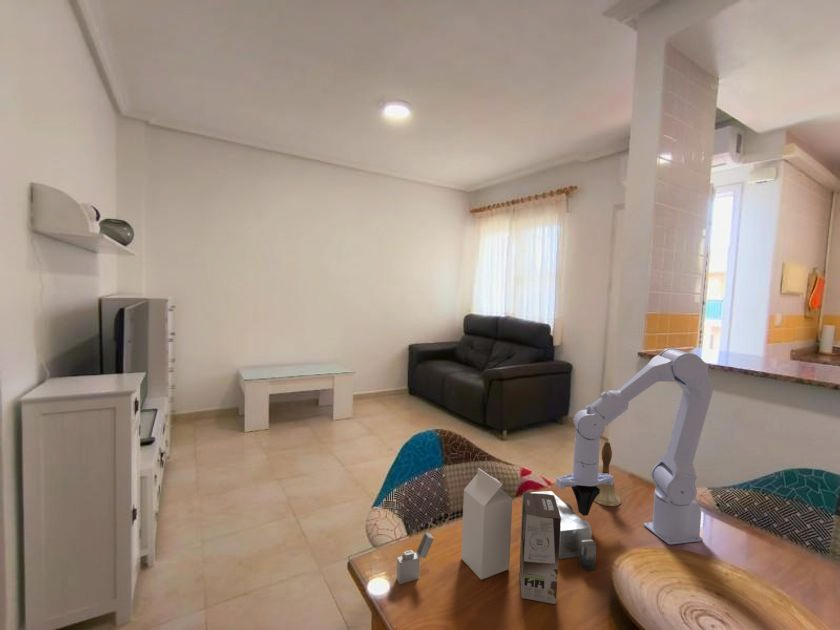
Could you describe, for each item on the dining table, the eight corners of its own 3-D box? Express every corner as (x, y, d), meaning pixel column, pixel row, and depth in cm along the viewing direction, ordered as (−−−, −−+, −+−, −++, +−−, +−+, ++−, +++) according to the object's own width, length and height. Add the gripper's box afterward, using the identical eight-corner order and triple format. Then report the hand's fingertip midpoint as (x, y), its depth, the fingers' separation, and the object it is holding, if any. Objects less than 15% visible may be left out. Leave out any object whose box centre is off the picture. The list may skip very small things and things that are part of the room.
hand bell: (581, 492, 114) (585, 438, 113) (606, 490, 116) (610, 436, 115) (601, 508, 106) (605, 449, 105) (628, 505, 108) (631, 447, 107)
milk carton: (481, 581, 77) (484, 486, 76) (460, 558, 84) (464, 471, 83) (509, 570, 81) (513, 479, 80) (488, 549, 87) (491, 465, 86)
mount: (550, 514, 102) (551, 490, 101) (588, 555, 86) (590, 527, 86) (524, 516, 100) (525, 492, 100) (559, 558, 85) (561, 530, 84)
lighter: (399, 584, 76) (400, 544, 75) (396, 578, 77) (397, 538, 77) (432, 574, 79) (434, 535, 78) (428, 568, 80) (430, 530, 80)
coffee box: (557, 605, 72) (562, 519, 71) (520, 598, 73) (524, 514, 72) (551, 571, 81) (555, 494, 80) (518, 565, 82) (522, 490, 81)
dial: (589, 560, 84) (590, 535, 84) (598, 570, 81) (599, 544, 81) (576, 562, 84) (577, 536, 83) (584, 572, 81) (586, 545, 81)
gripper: (601, 451, 103) (598, 502, 104) (550, 455, 100) (548, 507, 101) (620, 463, 96) (617, 517, 97) (566, 467, 93) (563, 523, 94)
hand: (583, 513), depth 98 cm, fingers closed
